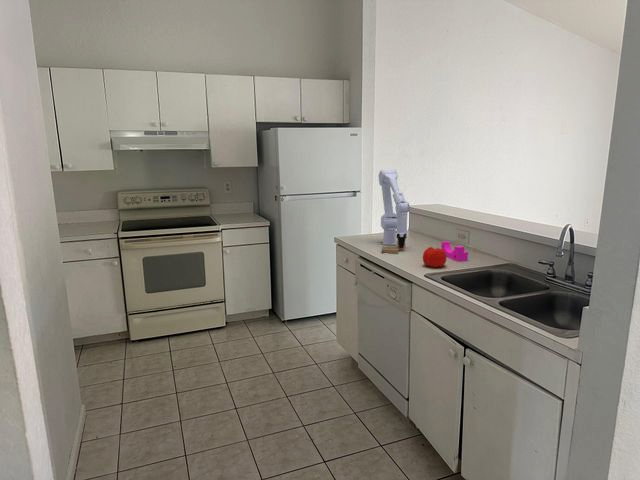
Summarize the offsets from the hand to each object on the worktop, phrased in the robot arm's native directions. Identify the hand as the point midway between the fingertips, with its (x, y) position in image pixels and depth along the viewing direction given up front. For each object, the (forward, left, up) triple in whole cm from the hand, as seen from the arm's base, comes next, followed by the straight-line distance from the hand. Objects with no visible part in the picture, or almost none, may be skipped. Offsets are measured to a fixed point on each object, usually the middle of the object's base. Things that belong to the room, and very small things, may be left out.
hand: (401, 246), depth 257 cm
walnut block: (+8, -6, -2) cm, 10 cm away
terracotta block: (0, 0, -2) cm, 2 cm away
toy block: (+15, +28, -2) cm, 32 cm away
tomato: (+34, +16, -2) cm, 38 cm away
